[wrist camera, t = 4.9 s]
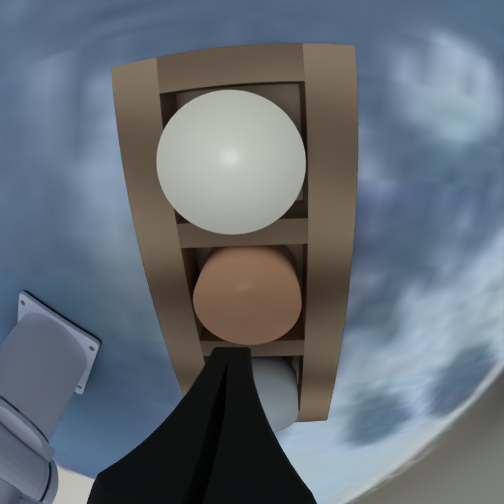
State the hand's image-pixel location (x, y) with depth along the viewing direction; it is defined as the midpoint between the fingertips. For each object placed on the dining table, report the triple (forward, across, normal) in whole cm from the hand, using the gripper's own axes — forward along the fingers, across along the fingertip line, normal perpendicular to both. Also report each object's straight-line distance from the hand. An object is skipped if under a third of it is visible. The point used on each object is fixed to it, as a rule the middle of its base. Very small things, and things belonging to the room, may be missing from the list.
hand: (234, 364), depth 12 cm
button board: (+7, 0, 0) cm, 7 cm away
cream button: (+5, 0, -7) cm, 9 cm away
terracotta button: (+7, 0, 0) cm, 7 cm away
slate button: (+5, 0, +7) cm, 9 cm away
